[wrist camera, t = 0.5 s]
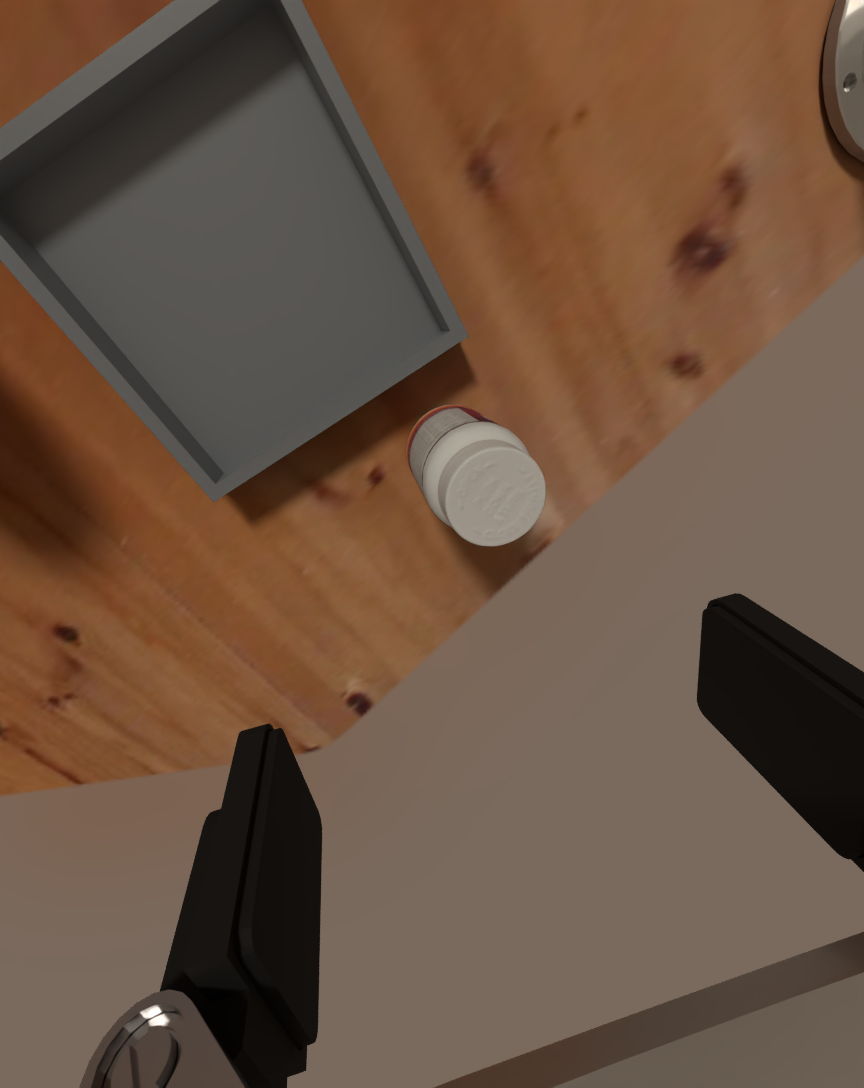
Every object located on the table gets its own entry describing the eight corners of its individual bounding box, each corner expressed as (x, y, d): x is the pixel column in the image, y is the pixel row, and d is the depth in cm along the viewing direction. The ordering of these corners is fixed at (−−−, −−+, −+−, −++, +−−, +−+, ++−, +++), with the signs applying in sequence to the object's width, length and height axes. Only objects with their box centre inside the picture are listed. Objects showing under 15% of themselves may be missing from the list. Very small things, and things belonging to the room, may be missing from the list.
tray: (275, -20, 23) (267, -69, 20) (456, 335, 31) (468, 336, 28) (-24, 197, 24) (-71, 179, 21) (224, 487, 32) (213, 502, 29)
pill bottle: (506, 458, 35) (578, 511, 24) (436, 507, 35) (477, 579, 25) (462, 383, 32) (521, 408, 22) (386, 438, 33) (410, 487, 22)
